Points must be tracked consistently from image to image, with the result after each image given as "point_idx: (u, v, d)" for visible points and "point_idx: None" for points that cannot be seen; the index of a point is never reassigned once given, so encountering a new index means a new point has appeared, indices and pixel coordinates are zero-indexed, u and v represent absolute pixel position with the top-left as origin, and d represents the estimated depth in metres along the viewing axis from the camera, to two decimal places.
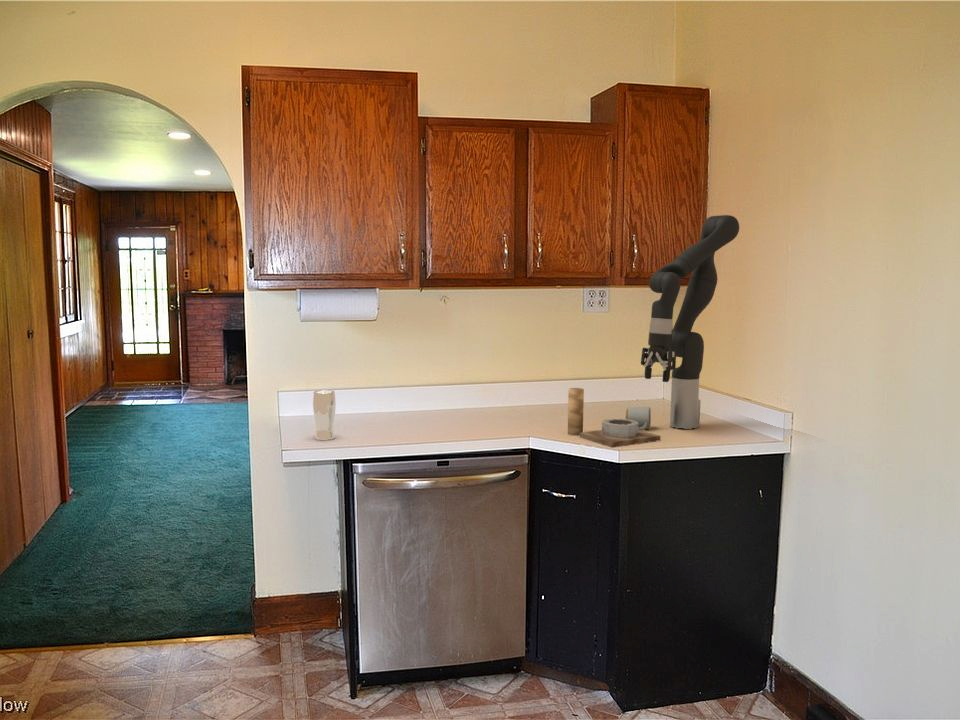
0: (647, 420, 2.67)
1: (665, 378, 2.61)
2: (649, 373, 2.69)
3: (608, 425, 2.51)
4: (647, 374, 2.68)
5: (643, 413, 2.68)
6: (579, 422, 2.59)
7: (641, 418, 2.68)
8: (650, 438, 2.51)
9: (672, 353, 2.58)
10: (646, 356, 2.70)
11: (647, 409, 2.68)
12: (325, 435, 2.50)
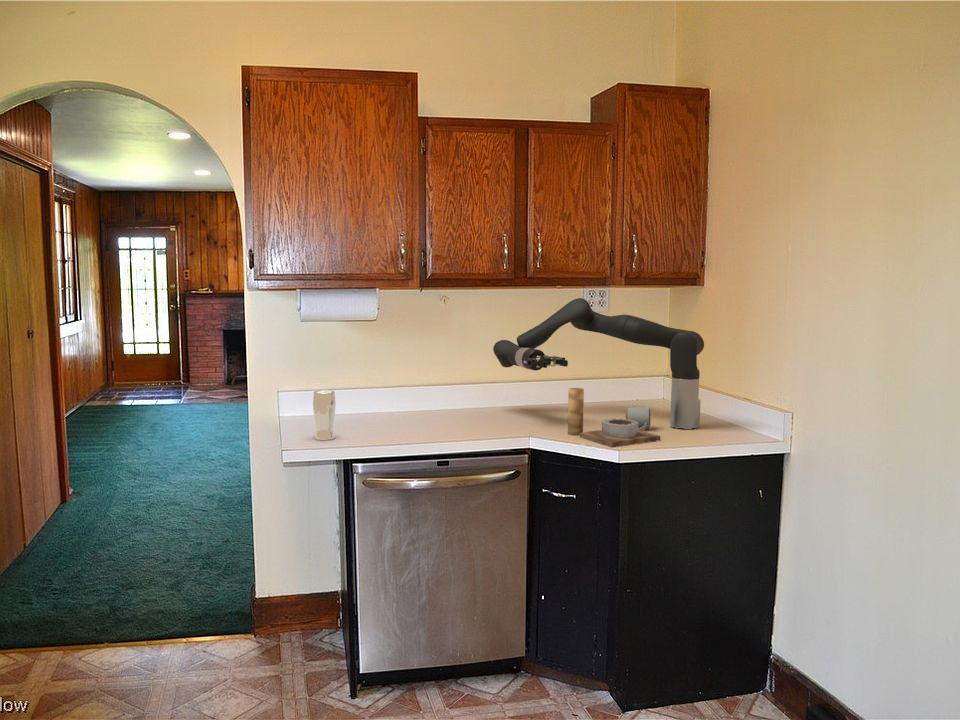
0: (647, 420, 2.66)
1: (542, 366, 2.67)
2: (562, 362, 2.72)
3: (608, 425, 2.51)
4: (563, 364, 2.72)
5: (643, 414, 2.67)
6: (579, 422, 2.59)
7: (641, 418, 2.67)
8: (650, 438, 2.51)
9: (524, 363, 2.74)
10: (557, 360, 2.78)
11: (647, 409, 2.68)
12: (325, 435, 2.50)
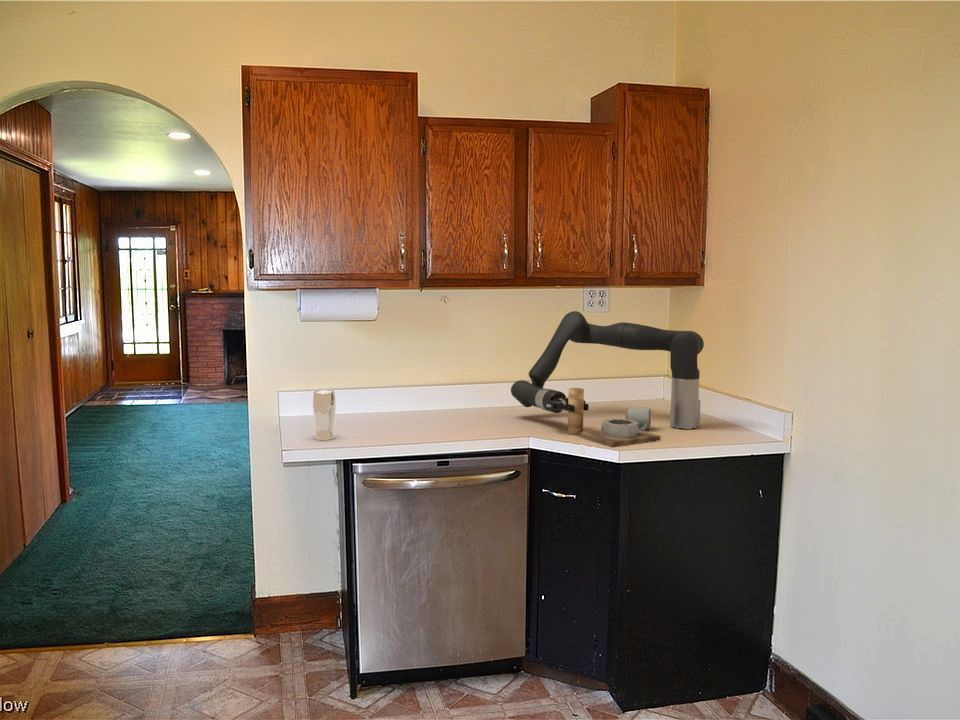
0: (647, 421, 2.66)
1: (570, 410, 2.58)
2: None
3: (608, 425, 2.51)
4: None
5: (643, 414, 2.66)
6: (579, 422, 2.59)
7: (641, 419, 2.66)
8: (650, 438, 2.51)
9: (547, 406, 2.63)
10: None
11: (647, 410, 2.67)
12: (325, 435, 2.50)
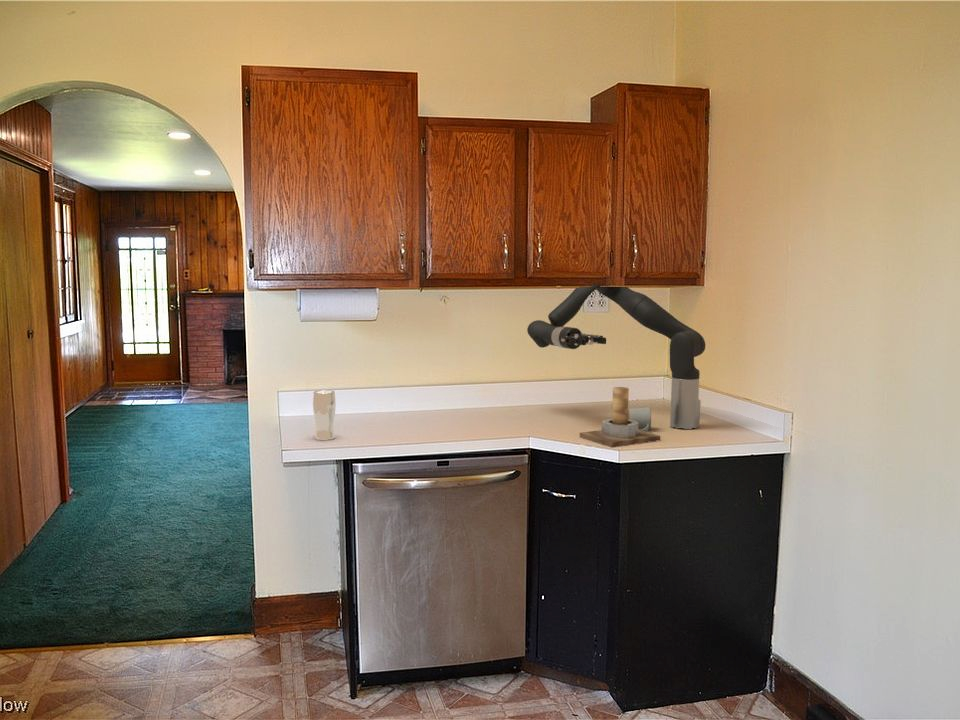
0: (649, 421, 2.65)
1: (581, 344, 2.65)
2: (601, 340, 2.70)
3: (608, 425, 2.51)
4: (601, 342, 2.69)
5: (645, 415, 2.66)
6: (624, 422, 2.52)
7: (643, 419, 2.66)
8: (650, 438, 2.51)
9: (561, 341, 2.71)
10: (595, 339, 2.75)
11: (648, 410, 2.67)
12: (325, 435, 2.50)
